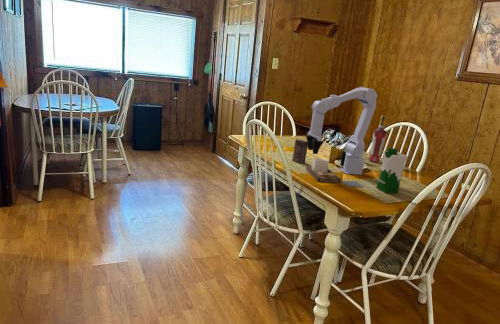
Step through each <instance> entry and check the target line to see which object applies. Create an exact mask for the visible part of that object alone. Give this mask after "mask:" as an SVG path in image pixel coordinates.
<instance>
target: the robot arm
mask: <svg viewBox="0 0 500 324" xmlns="http://www.w3.org/2000/svg"><path fill="white" fill-rule="evenodd" d="M378 96H379V95H378V94H377V92H376V90H375V89H373V88H367V87H364V86H359V87H356V88H354V89H352V90H350V91H348V92H346V93H343V94H340V95H336V94H330V96H329V97H326V98H322V99H321V100H315V101H314V102H313V103H312V104H311V110H312V117H311V120H310V121H311V122H310V128H309V129H310V130H308V132H307V134H306V135H305V139H306V141H307V143H308V147H307V151H308V150H309V151H312V154H313V155H318V153H319V151H320V149H321V147H322V145H323V144H324V142H325V141H324V140H323V137H322V136H323V135H322V132H323V126H324V119H325V113H327V112H328V111H330V110H333V109H334V108H337V107H339V106H340V105H341V103H344V102H347V101H351V100H353V99H357V100H358V101H359V102H360V103H361V105H362V107H363V110H362V112H361V113H360V117H359V119H358V123H357V125H356V127H355V130H354V132H353V136H351V137H350V138H348V141H347V142H346V143H345V145H344V151H345V157H344V163H343V168H342V167H341V168H339V170H340V171H342V172H343V173H344V174H346V175H363V169H364V165H365V159H364V156H363V155H364V152H365V146H366V143H365V141H364V139H365V137H366V133H367V131H368V129H369V126H370V123H371V121H372V118H373V116H374V113H375V111H376V108H377V98H378Z"/></svg>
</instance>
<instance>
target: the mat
mask: <svg viewBox="0 0 500 324" xmlns="http://www.w3.org/2000/svg"><path fill="white" fill-rule="evenodd" d="M340 183H342V184H343V185H344V186H346V187H347V188H349V187H350V188H364V186H363V185H362V184H361V183H359V182H358V181H353V180H352V181H351V180H340Z"/></svg>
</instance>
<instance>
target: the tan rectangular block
mask: <svg viewBox="0 0 500 324" xmlns="http://www.w3.org/2000/svg"><path fill="white" fill-rule="evenodd" d="M333 173H334V172H333ZM333 173H327V172H317V175H318V176H320V177H330V178H336V175H337V174H336V173H334V174H333Z"/></svg>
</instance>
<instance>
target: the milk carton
mask: <svg viewBox="0 0 500 324" xmlns="http://www.w3.org/2000/svg"><path fill="white" fill-rule="evenodd" d="M382 155H383V158H382V159H383V161H382V164H381V169H380V174H379V177H378V181H377V183H376V184H377V185H376V186H375V187H376V189H378V190H380V191H381V192H382V193H384V194H399V190H400V184H401V179H402V175H403V171H404V167H405V164H406V162H407V160H408V158H409V155H406V154H403V153H401V152H399V151H398V149H397V148H395V147H394V148H393V147H388V149H387V151H386V150H383V154H382Z"/></svg>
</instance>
